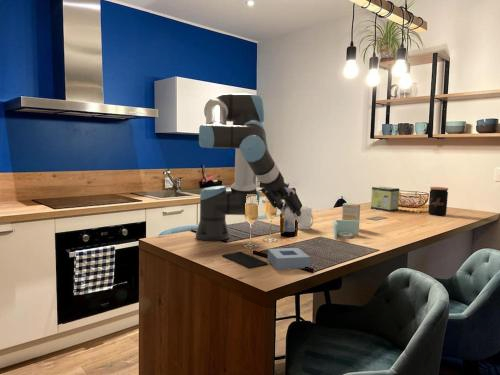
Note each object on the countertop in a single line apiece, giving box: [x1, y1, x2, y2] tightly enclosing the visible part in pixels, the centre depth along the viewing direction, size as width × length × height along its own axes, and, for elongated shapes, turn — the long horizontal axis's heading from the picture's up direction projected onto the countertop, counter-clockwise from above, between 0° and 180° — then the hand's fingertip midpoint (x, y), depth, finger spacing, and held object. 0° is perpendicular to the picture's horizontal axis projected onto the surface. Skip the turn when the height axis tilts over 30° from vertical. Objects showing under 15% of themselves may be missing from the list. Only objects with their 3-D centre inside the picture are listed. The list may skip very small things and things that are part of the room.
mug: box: [298, 206, 314, 230], centre depth 199 cm, size 9×12×11 cm
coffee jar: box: [428, 186, 449, 217], centre depth 251 cm, size 11×11×18 cm
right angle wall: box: [332, 219, 360, 240], centre depth 184 cm, size 12×12×8 cm
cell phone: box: [221, 251, 269, 270], centre depth 142 cm, size 9×18×1 cm, turn 36°
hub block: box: [267, 247, 311, 270], centre depth 139 cm, size 12×12×4 cm
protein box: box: [370, 186, 400, 213], centre depth 267 cm, size 10×16×16 cm
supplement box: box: [341, 202, 361, 222], centre depth 203 cm, size 8×5×13 cm, turn 57°
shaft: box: [282, 200, 296, 233], centre depth 137 cm, size 4×4×13 cm
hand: (295, 219), depth 141 cm, fingers closed on shaft, 4 cm apart
